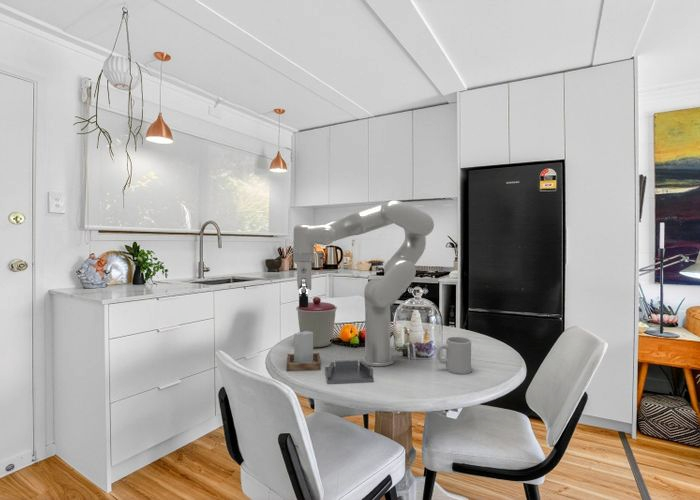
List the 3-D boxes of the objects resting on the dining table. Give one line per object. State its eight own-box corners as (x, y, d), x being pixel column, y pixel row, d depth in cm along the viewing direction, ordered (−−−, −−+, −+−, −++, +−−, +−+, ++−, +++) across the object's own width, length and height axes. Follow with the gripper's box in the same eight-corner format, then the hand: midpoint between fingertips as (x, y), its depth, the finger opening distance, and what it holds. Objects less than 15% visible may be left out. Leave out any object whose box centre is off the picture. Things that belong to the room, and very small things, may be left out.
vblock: (366, 368, 138) (367, 358, 137) (373, 382, 125) (373, 371, 125) (324, 370, 136) (324, 360, 135) (327, 384, 123) (327, 373, 123)
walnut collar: (319, 359, 148) (319, 353, 148) (320, 370, 136) (320, 363, 136) (287, 360, 146) (287, 354, 146) (286, 371, 134) (286, 364, 134)
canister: (296, 339, 177) (296, 294, 176) (335, 338, 178) (335, 293, 178) (295, 351, 159) (295, 300, 158) (338, 350, 161) (338, 300, 160)
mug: (465, 366, 141) (466, 336, 140) (474, 374, 132) (475, 342, 132) (433, 366, 140) (434, 337, 140) (440, 375, 131) (441, 343, 131)
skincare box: (305, 361, 145) (305, 330, 144) (313, 364, 142) (313, 332, 142) (293, 365, 140) (293, 333, 140) (301, 368, 137) (301, 335, 137)
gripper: (314, 259, 132) (314, 309, 132) (313, 257, 149) (312, 301, 149) (293, 259, 131) (292, 309, 131) (293, 257, 148) (293, 301, 148)
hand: (303, 305), depth 140 cm, fingers open, 9 cm apart
